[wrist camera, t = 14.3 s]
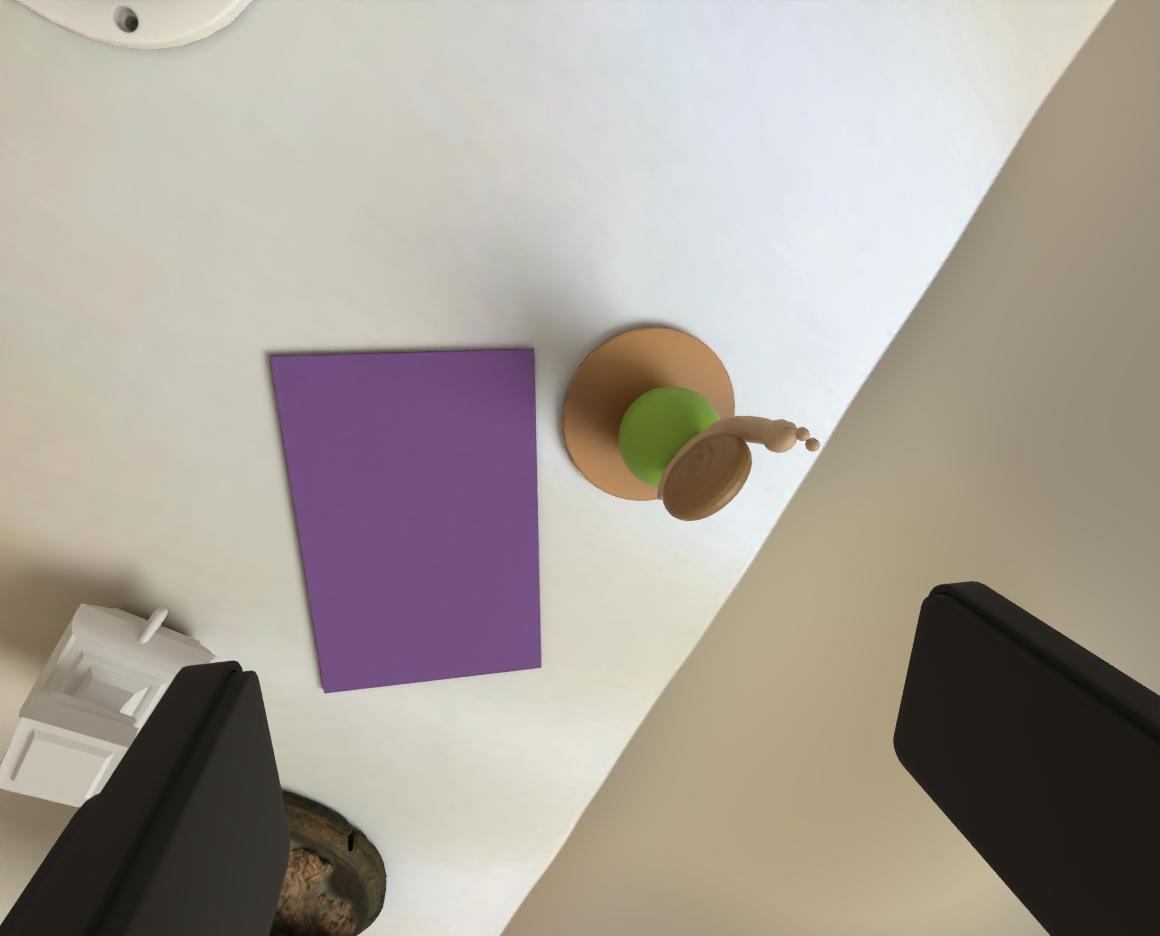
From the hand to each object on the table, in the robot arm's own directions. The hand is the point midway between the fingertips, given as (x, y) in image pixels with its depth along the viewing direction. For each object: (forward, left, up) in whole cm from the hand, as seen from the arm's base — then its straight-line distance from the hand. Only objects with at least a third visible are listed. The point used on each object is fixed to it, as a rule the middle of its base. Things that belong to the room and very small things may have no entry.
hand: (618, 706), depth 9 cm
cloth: (+9, -4, -26) cm, 28 cm away
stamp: (+15, -20, -26) cm, 36 cm away
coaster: (+3, +9, -26) cm, 28 cm away
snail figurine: (+3, +9, -26) cm, 28 cm away
